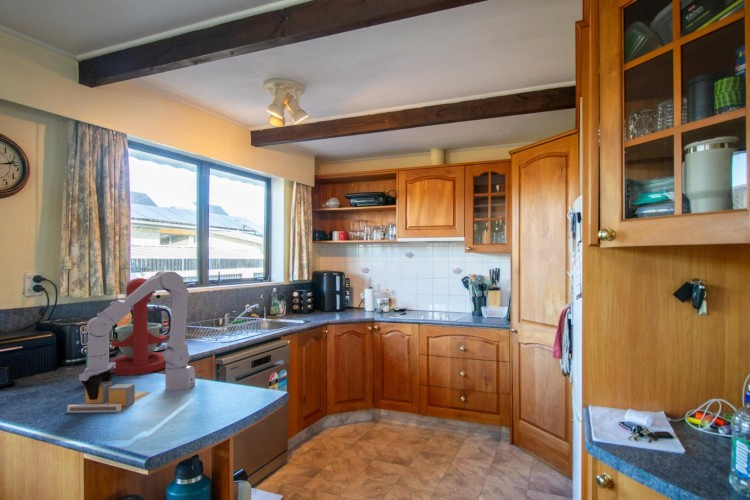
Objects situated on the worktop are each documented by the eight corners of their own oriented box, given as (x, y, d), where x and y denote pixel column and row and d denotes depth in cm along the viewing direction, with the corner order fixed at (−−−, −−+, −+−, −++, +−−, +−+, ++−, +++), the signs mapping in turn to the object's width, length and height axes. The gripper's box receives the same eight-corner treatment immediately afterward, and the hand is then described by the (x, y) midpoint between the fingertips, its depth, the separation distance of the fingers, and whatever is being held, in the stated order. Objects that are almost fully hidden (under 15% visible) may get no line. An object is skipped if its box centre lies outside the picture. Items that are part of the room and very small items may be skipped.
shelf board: (151, 395, 142) (151, 392, 142) (119, 415, 124) (119, 411, 124) (105, 396, 142) (105, 392, 142) (67, 416, 124) (67, 412, 124)
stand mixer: (165, 356, 200) (165, 276, 201) (173, 370, 174) (173, 278, 175) (108, 363, 187) (108, 277, 188) (107, 380, 161) (107, 280, 162)
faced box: (134, 402, 132) (134, 384, 132) (126, 407, 128) (126, 388, 128) (116, 402, 132) (116, 384, 132) (107, 407, 128) (107, 388, 128)
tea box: (111, 399, 132) (111, 381, 132) (103, 404, 128) (103, 385, 128) (93, 399, 132) (93, 381, 132) (84, 404, 128) (84, 385, 128)
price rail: (121, 410, 125) (121, 403, 125) (119, 411, 124) (119, 405, 124) (69, 411, 125) (69, 404, 125) (66, 412, 124) (66, 406, 124)
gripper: (101, 349, 137) (101, 389, 137) (69, 360, 123) (69, 405, 123) (121, 349, 137) (121, 389, 137) (92, 360, 123) (92, 404, 123)
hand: (98, 396), depth 130 cm, fingers closed on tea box, 4 cm apart
